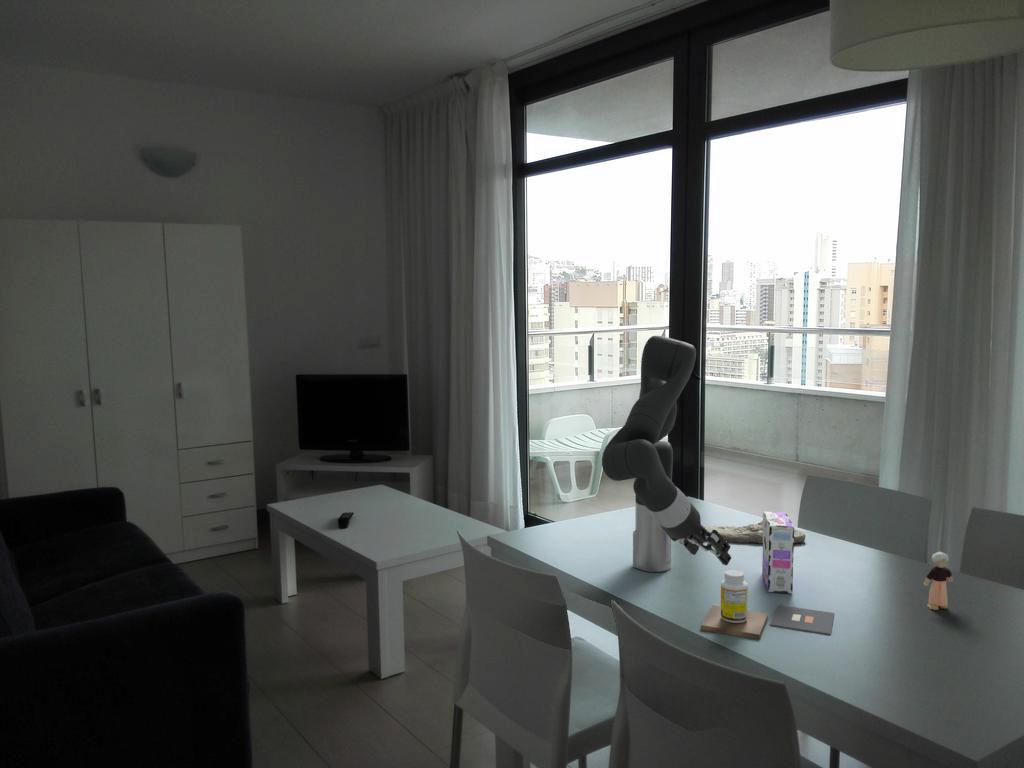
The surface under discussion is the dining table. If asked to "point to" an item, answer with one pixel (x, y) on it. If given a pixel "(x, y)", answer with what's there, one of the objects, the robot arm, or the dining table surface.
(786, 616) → the tile
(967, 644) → the dining table surface
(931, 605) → the grandmother figurine
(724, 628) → the walnut board
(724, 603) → the supplement bottle
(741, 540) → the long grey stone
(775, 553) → the candy box
